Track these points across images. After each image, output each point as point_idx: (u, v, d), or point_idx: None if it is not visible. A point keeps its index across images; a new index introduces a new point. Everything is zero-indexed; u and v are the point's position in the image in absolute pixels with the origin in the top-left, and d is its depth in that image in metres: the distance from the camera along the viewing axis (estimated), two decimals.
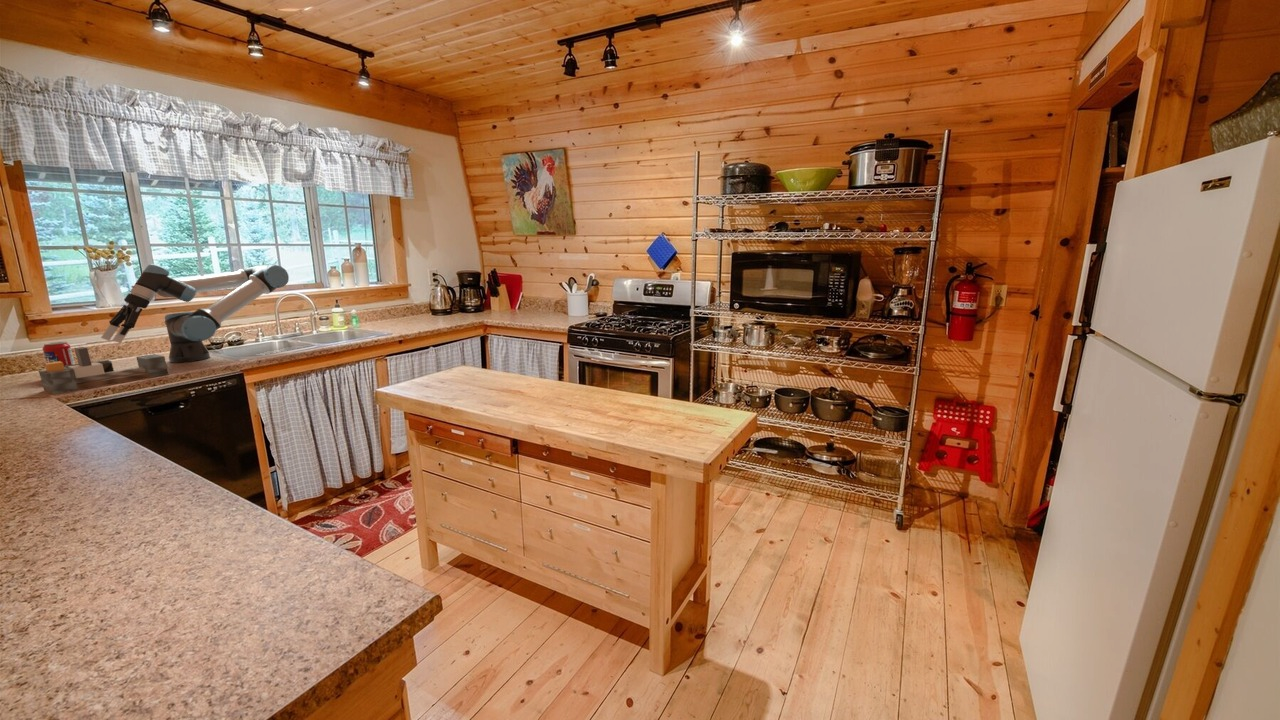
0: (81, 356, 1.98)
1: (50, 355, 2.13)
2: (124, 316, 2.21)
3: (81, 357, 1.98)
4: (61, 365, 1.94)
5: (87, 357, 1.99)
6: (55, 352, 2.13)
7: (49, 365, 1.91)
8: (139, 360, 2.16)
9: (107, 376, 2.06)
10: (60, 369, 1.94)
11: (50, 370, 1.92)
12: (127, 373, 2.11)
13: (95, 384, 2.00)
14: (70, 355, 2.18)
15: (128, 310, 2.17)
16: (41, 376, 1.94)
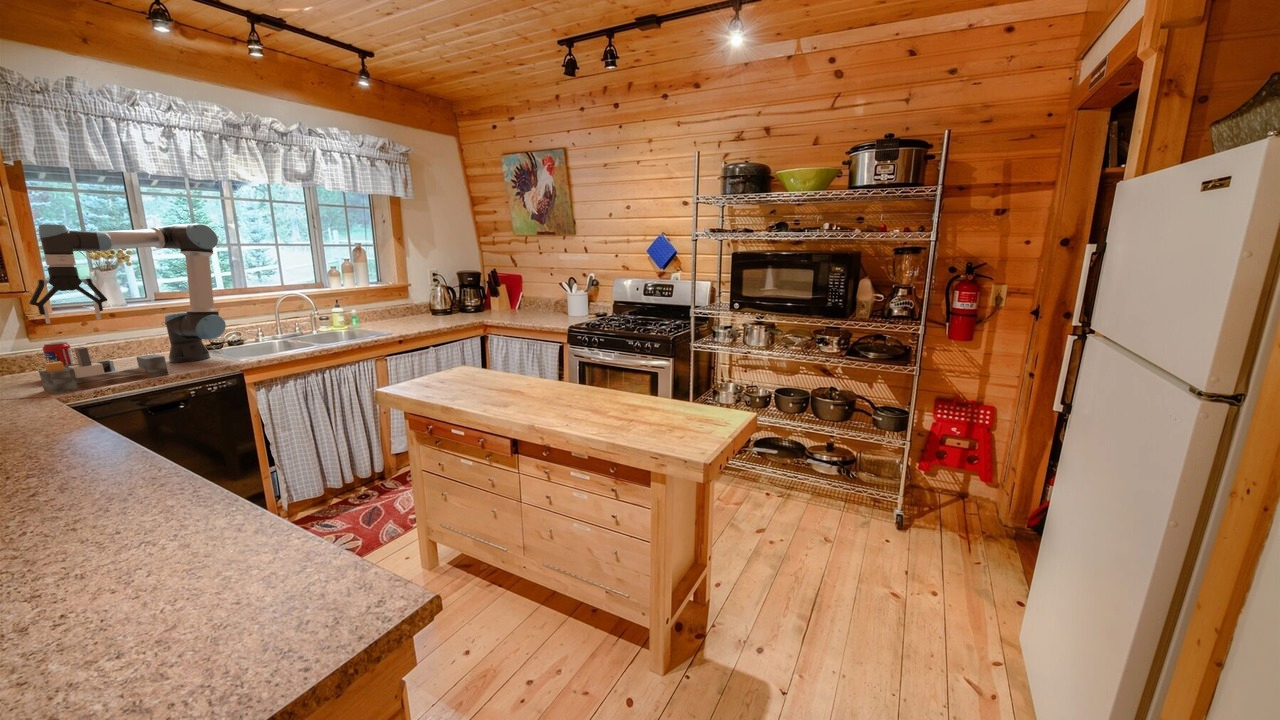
0: (81, 356, 1.98)
1: (50, 355, 2.13)
2: None
3: (81, 357, 1.98)
4: (61, 365, 1.94)
5: (87, 357, 1.99)
6: (55, 352, 2.13)
7: (49, 365, 1.91)
8: (139, 360, 2.16)
9: (107, 376, 2.06)
10: (60, 369, 1.94)
11: (50, 370, 1.92)
12: (127, 373, 2.11)
13: (95, 384, 2.00)
14: (70, 355, 2.18)
15: (77, 285, 1.97)
16: (41, 376, 1.94)
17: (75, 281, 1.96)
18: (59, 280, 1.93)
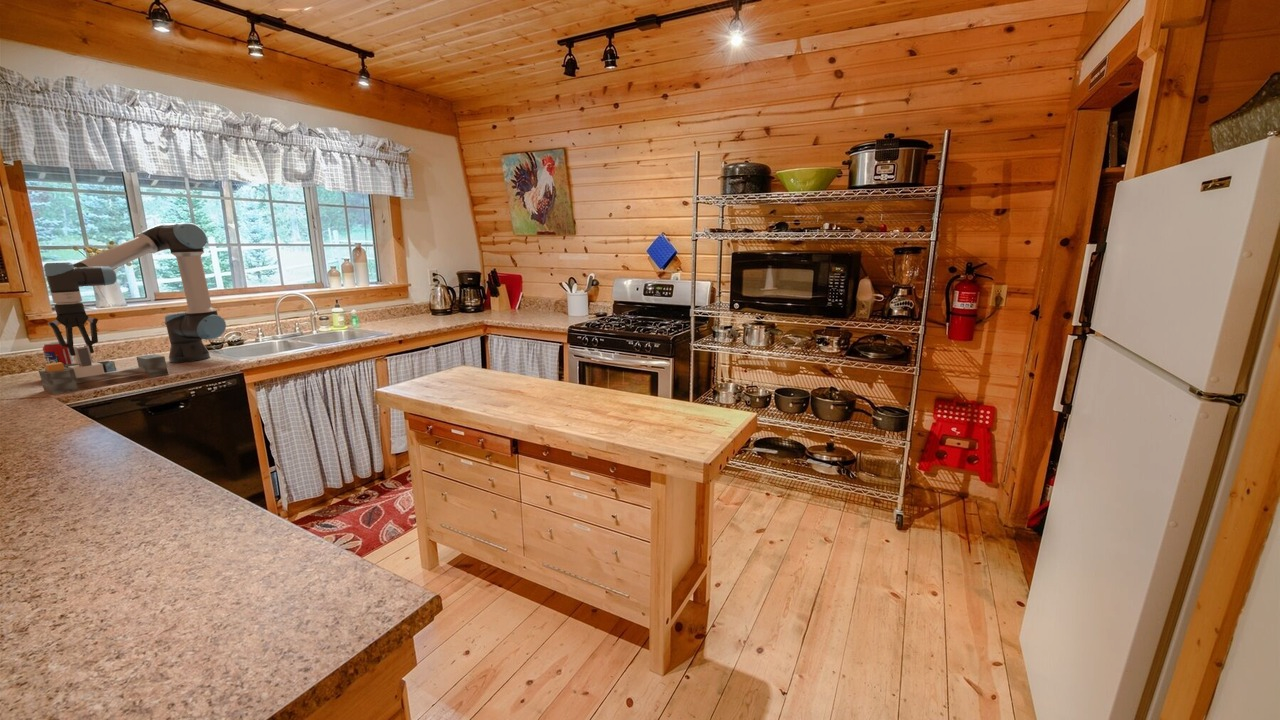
0: (81, 356, 1.98)
1: (50, 355, 2.13)
2: None
3: (81, 357, 1.98)
4: (61, 366, 1.94)
5: (87, 357, 1.99)
6: (56, 352, 2.13)
7: (49, 366, 1.91)
8: (139, 360, 2.16)
9: (107, 376, 2.06)
10: (60, 370, 1.94)
11: (50, 371, 1.92)
12: (127, 373, 2.11)
13: (95, 384, 2.00)
14: (70, 355, 2.18)
15: (82, 323, 1.98)
16: (41, 376, 1.94)
17: (82, 316, 1.98)
18: (64, 315, 1.94)
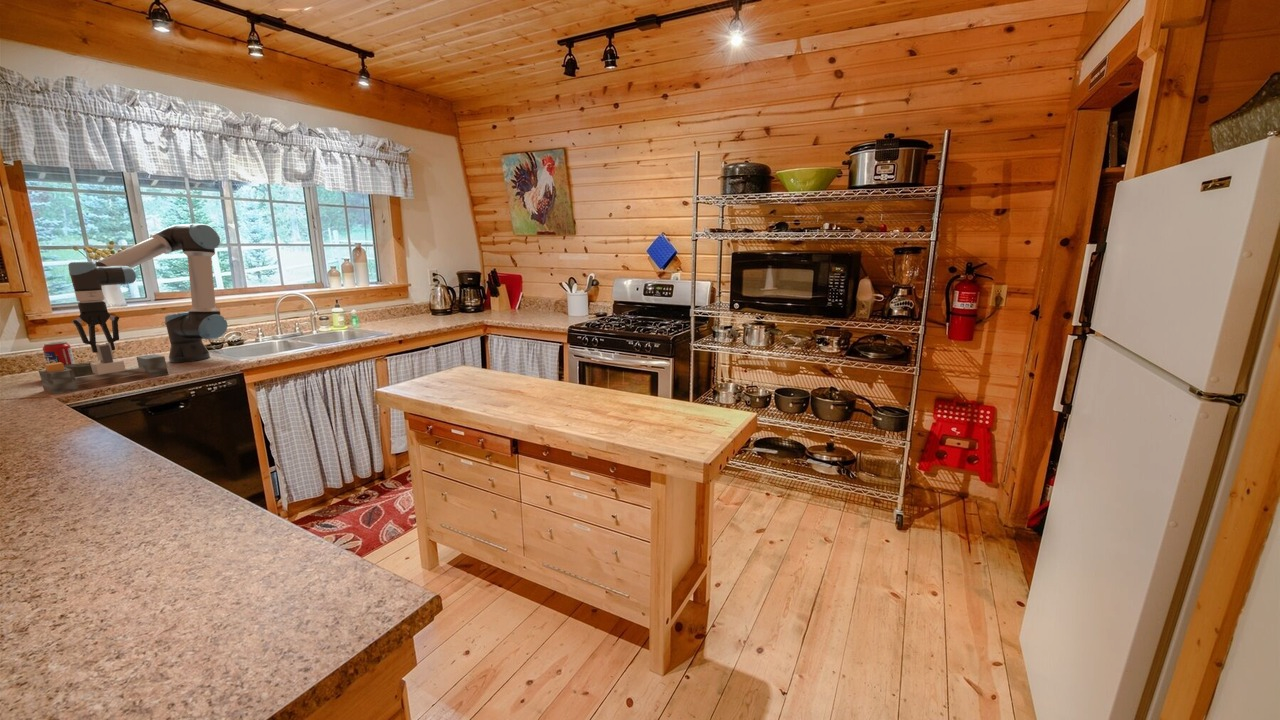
0: (103, 353, 2.03)
1: (50, 355, 2.13)
2: None
3: (103, 354, 2.03)
4: (61, 366, 1.94)
5: (109, 354, 2.05)
6: (56, 352, 2.13)
7: (49, 366, 1.91)
8: (139, 360, 2.16)
9: (107, 376, 2.06)
10: (60, 370, 1.94)
11: (50, 371, 1.92)
12: (127, 373, 2.11)
13: (95, 384, 2.00)
14: (70, 355, 2.18)
15: None
16: (41, 376, 1.94)
17: (104, 314, 2.03)
18: (87, 313, 1.99)
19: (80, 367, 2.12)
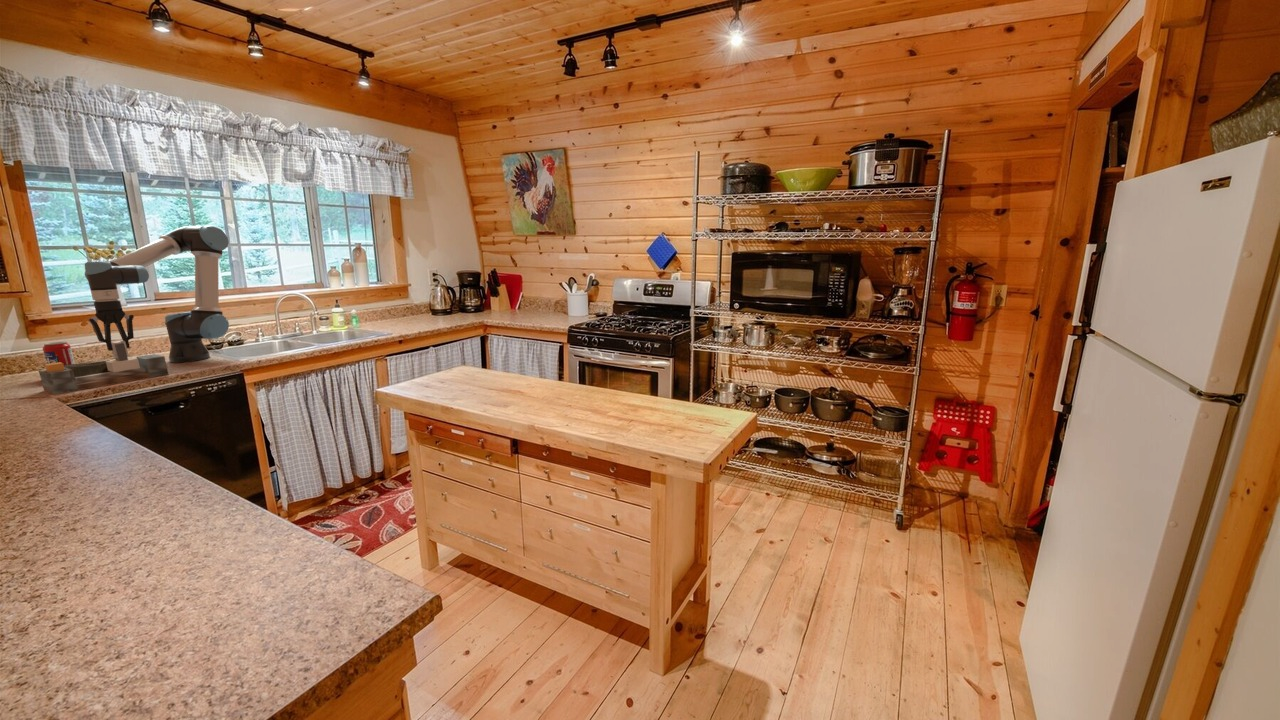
0: (118, 351, 2.07)
1: (50, 355, 2.13)
2: None
3: (118, 352, 2.07)
4: (61, 366, 1.94)
5: (124, 352, 2.08)
6: (56, 352, 2.13)
7: (49, 366, 1.91)
8: (139, 360, 2.16)
9: (107, 376, 2.06)
10: (60, 370, 1.94)
11: (50, 371, 1.92)
12: (127, 373, 2.11)
13: (95, 384, 2.00)
14: (70, 355, 2.18)
15: None
16: (41, 376, 1.94)
17: (119, 313, 2.07)
18: (103, 312, 2.03)
19: (82, 367, 2.12)
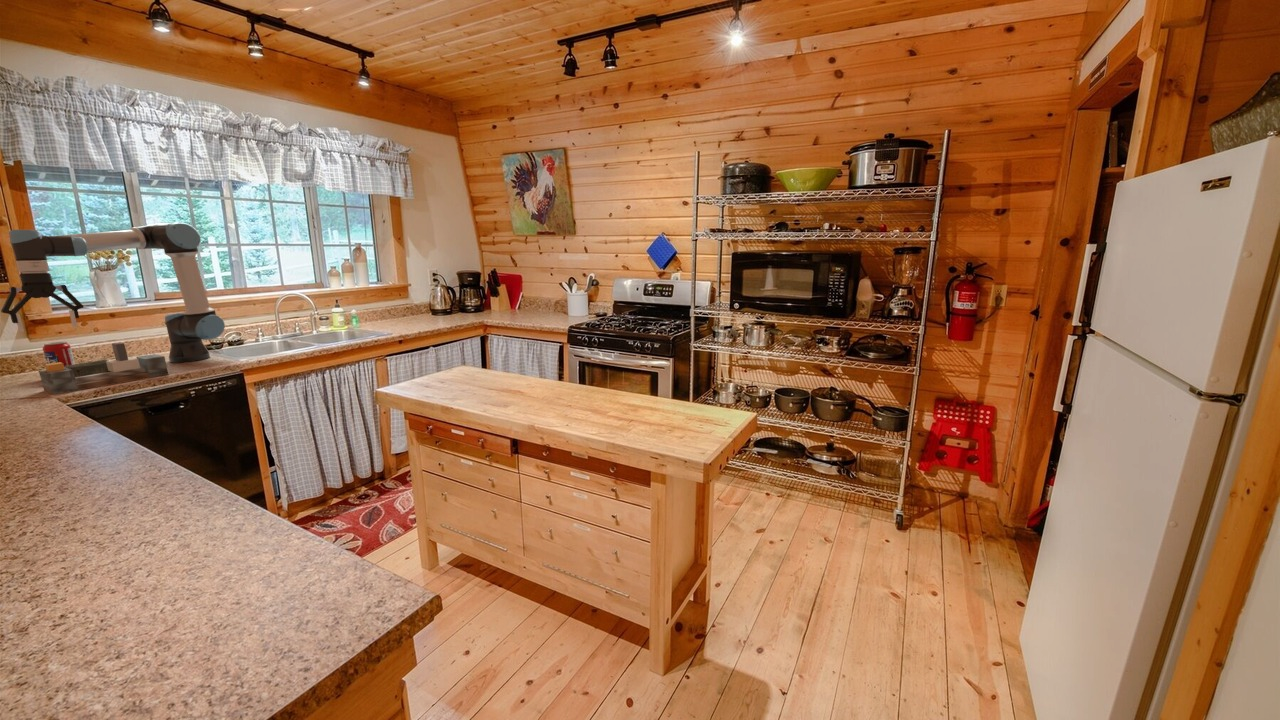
0: (118, 351, 2.07)
1: (50, 355, 2.13)
2: None
3: (118, 352, 2.07)
4: (61, 366, 1.94)
5: (124, 352, 2.08)
6: (56, 352, 2.13)
7: (49, 366, 1.91)
8: (139, 360, 2.16)
9: (107, 376, 2.06)
10: (60, 370, 1.94)
11: (50, 371, 1.92)
12: (127, 373, 2.11)
13: (95, 384, 2.00)
14: (70, 355, 2.18)
15: (51, 292, 1.90)
16: (41, 376, 1.94)
17: (49, 288, 1.90)
18: (32, 287, 1.86)
19: (88, 366, 2.14)
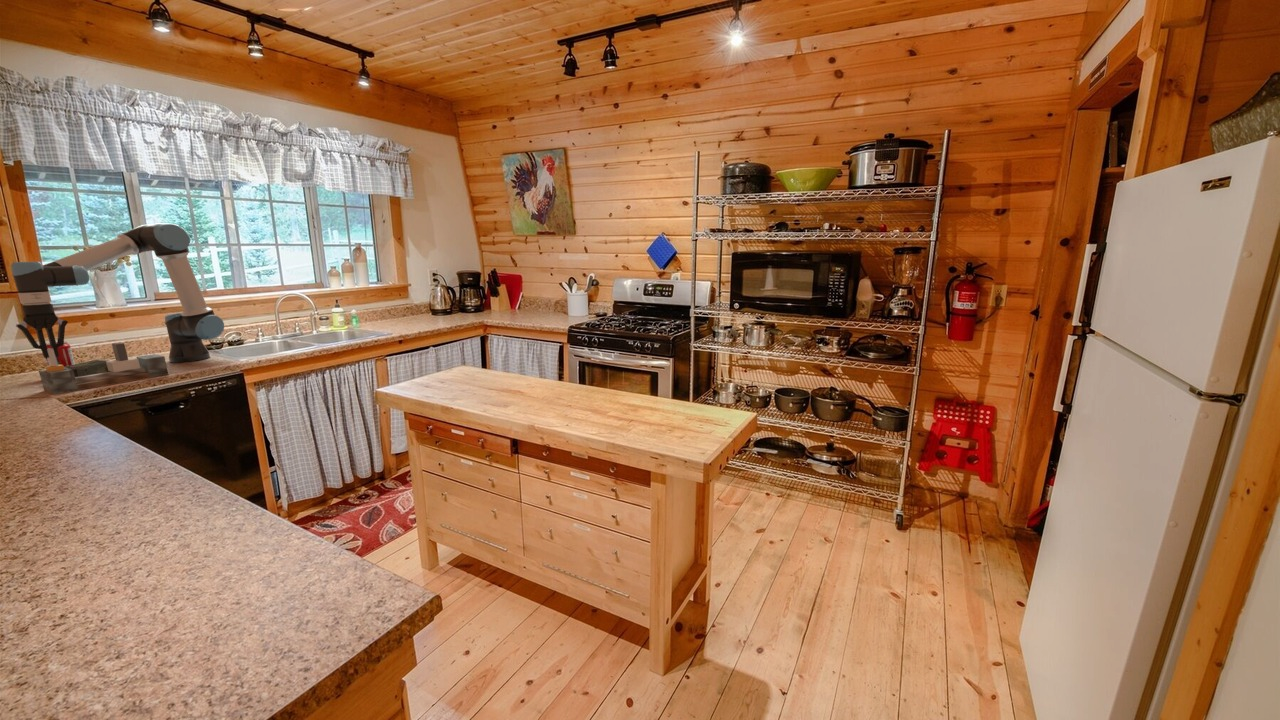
0: (118, 351, 2.07)
1: None
2: None
3: (118, 352, 2.07)
4: (62, 368, 1.94)
5: (124, 352, 2.08)
6: None
7: (50, 368, 1.92)
8: (139, 360, 2.16)
9: (107, 376, 2.06)
10: None
11: None
12: (127, 373, 2.11)
13: (95, 384, 2.00)
14: (70, 355, 2.18)
15: (51, 324, 1.91)
16: (41, 376, 1.94)
17: (51, 317, 1.91)
18: (31, 316, 1.87)
19: (92, 365, 2.16)
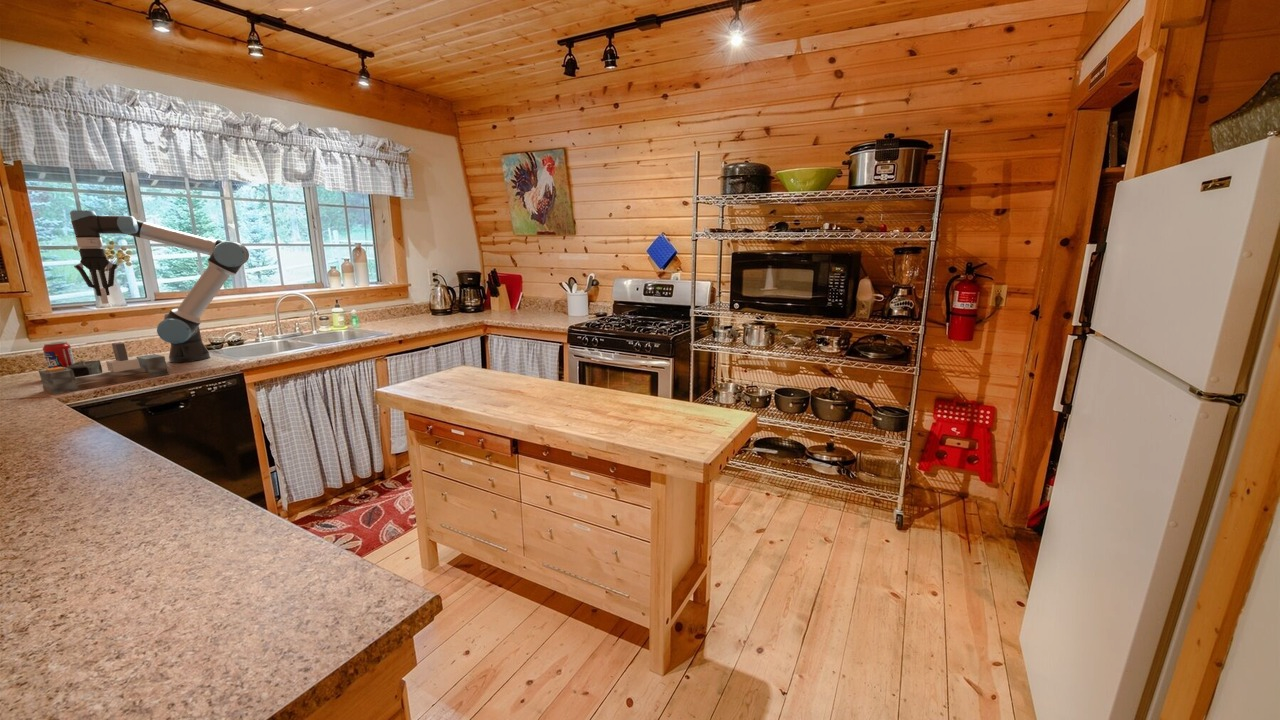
0: (118, 351, 2.07)
1: (50, 355, 2.13)
2: None
3: (118, 352, 2.07)
4: None
5: (124, 352, 2.08)
6: (56, 352, 2.13)
7: (51, 371, 1.92)
8: (139, 360, 2.16)
9: (107, 376, 2.06)
10: None
11: None
12: (127, 373, 2.11)
13: (95, 384, 2.00)
14: (70, 355, 2.18)
15: None
16: (41, 376, 1.94)
17: (103, 260, 2.19)
18: (87, 259, 2.14)
19: (94, 364, 2.17)
